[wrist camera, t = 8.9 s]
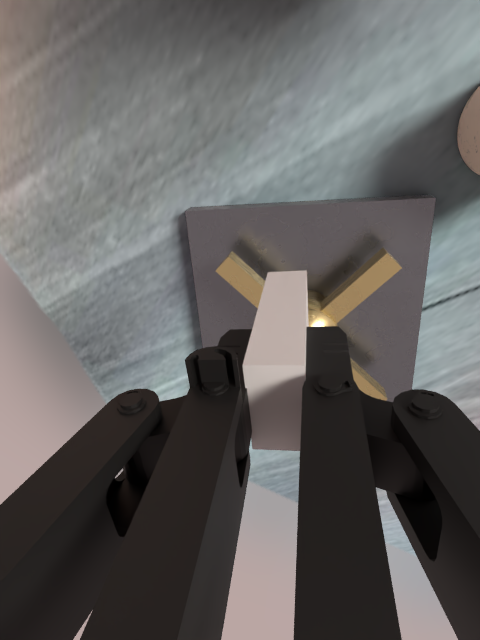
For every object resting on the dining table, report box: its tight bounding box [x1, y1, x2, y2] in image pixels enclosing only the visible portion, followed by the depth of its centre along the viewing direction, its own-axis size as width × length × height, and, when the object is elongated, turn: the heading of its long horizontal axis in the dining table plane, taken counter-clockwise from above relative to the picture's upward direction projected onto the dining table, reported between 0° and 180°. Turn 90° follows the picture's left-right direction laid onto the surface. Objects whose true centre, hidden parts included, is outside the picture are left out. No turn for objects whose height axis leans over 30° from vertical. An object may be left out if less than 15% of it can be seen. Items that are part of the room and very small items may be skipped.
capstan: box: [216, 248, 402, 401], centre depth 37 cm, size 20×20×6 cm
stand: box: [185, 195, 436, 402], centre depth 40 cm, size 22×22×4 cm
